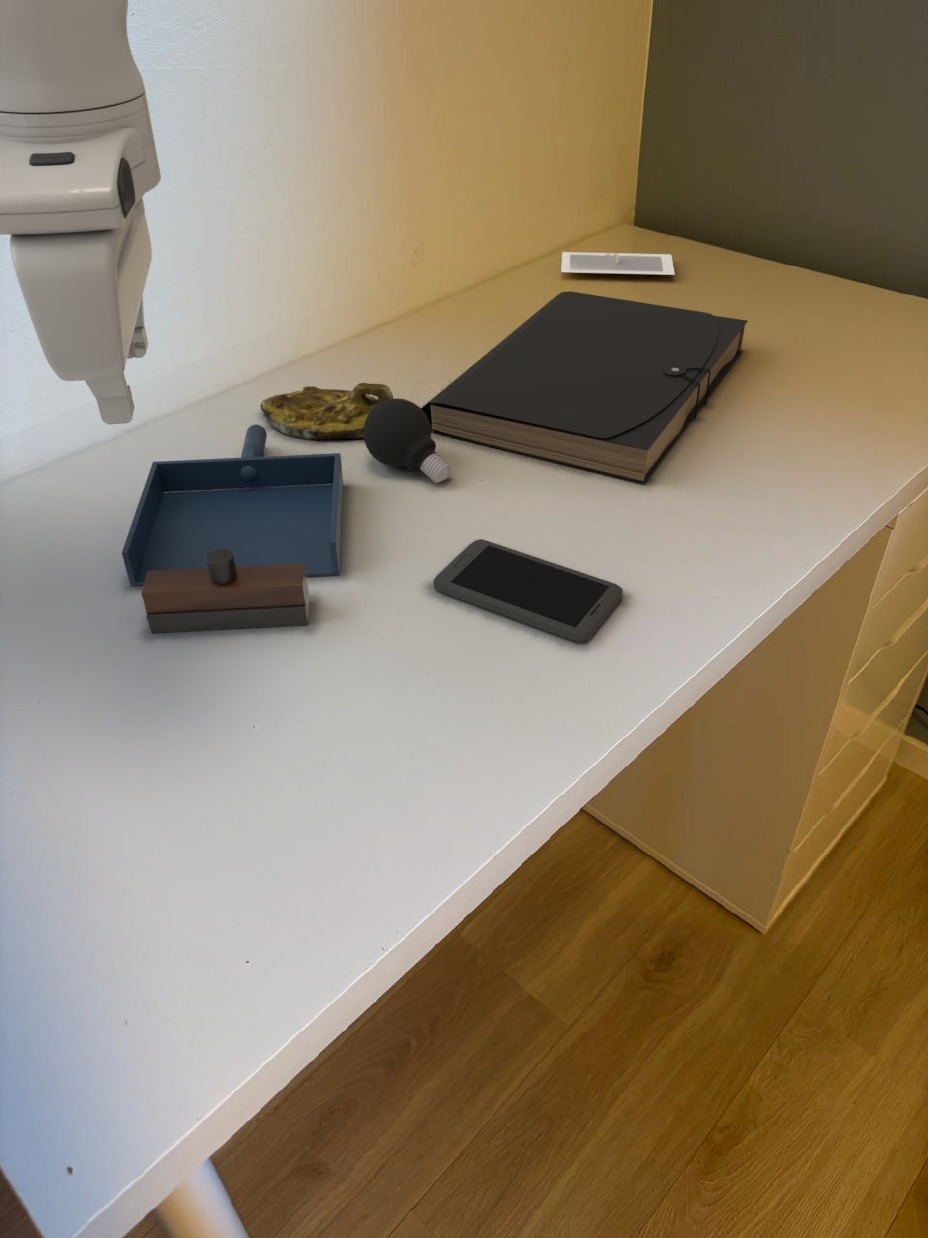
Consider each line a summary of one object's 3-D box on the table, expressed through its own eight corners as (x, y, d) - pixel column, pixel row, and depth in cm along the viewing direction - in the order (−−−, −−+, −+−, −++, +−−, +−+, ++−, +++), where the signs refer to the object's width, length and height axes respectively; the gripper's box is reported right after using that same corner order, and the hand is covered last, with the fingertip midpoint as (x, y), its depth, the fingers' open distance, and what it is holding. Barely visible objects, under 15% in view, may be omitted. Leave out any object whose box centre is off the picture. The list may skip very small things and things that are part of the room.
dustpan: (339, 575, 82) (335, 542, 80) (130, 586, 81) (121, 552, 79) (345, 442, 99) (342, 412, 97) (173, 450, 99) (167, 419, 96)
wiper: (307, 625, 77) (299, 564, 73) (151, 633, 76) (134, 572, 73) (310, 600, 79) (301, 540, 76) (158, 607, 79) (142, 547, 75)
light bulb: (439, 459, 88) (363, 390, 91) (412, 512, 92) (340, 445, 95) (481, 444, 93) (408, 379, 95) (454, 495, 97) (384, 431, 99)
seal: (248, 444, 101) (392, 452, 99) (239, 404, 98) (387, 412, 96) (274, 394, 108) (409, 400, 106) (266, 355, 104) (406, 361, 102)
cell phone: (476, 543, 85) (476, 536, 84) (626, 594, 79) (627, 586, 79) (429, 588, 80) (429, 580, 80) (585, 645, 74) (585, 638, 74)
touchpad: (673, 282, 132) (675, 266, 131) (560, 279, 133) (561, 263, 132) (670, 262, 138) (672, 246, 137) (562, 259, 139) (562, 244, 138)
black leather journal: (650, 446, 90) (419, 395, 99) (646, 485, 92) (421, 433, 101) (750, 317, 112) (554, 286, 121) (744, 352, 115) (553, 318, 124)
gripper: (46, 112, 63) (97, 324, 71) (-26, 211, 47) (51, 467, 56) (148, 108, 63) (187, 318, 72) (112, 204, 48) (166, 457, 56)
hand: (127, 384), depth 64 cm, fingers open, 8 cm apart
